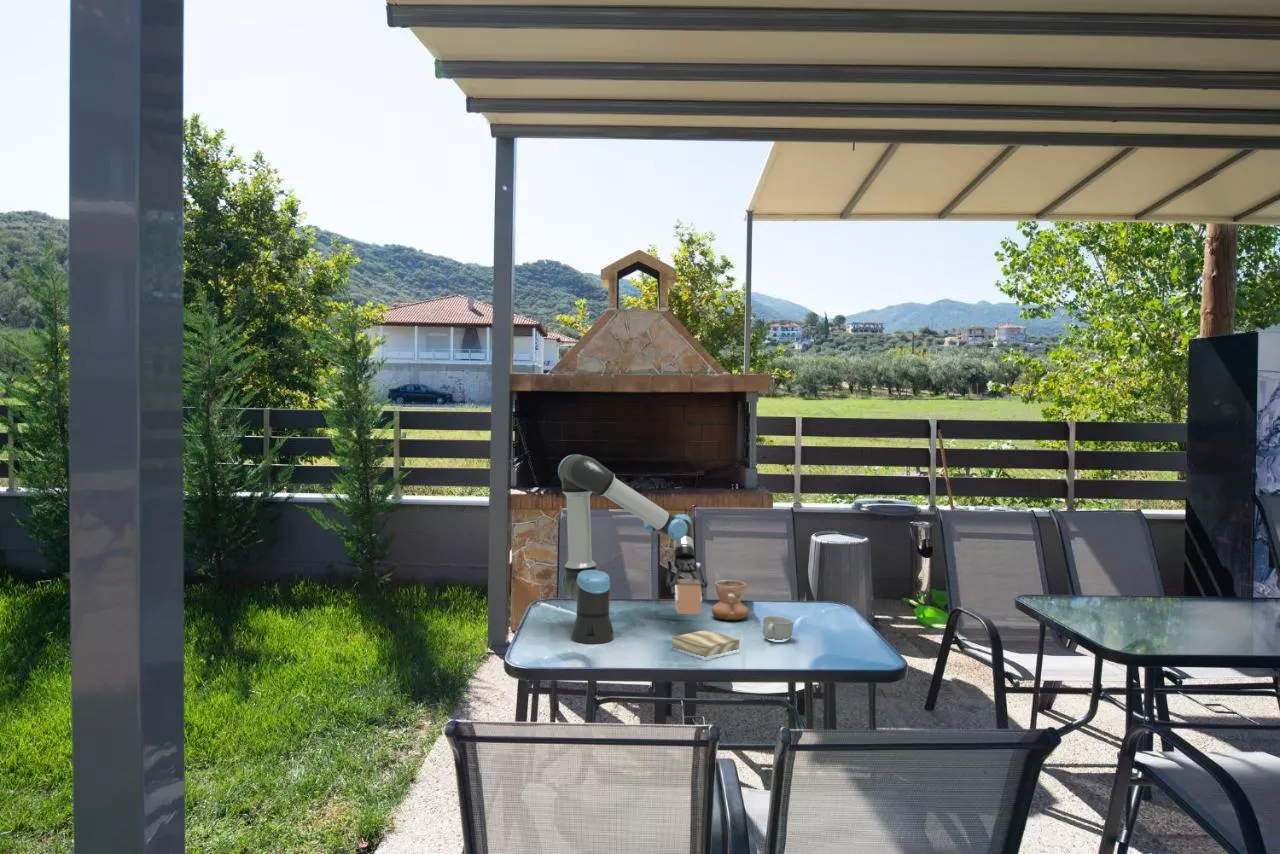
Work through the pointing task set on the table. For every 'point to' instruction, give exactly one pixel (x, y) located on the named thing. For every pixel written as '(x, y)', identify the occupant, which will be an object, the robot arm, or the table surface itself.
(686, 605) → the pink square box
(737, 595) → the ceramic jug
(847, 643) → the table surface
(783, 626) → the teacup
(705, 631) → the birch box
